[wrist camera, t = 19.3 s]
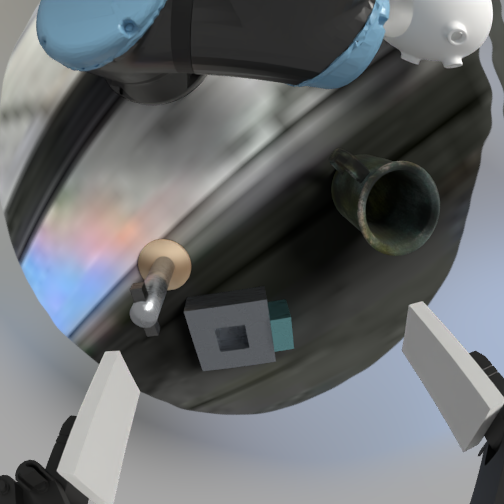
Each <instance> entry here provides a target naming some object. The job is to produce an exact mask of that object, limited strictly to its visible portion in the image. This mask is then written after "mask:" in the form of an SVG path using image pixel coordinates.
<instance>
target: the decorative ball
mask: <svg viewBox="0 0 504 504" xmlns="http://www.w3.org/2000/svg"><path fill="white" fill-rule="evenodd" d="M389 3H390V13H389V19H388V20H387V21H386V22H385V24H384V25H383V28H384V29H385V31H386V32H385V35H384V38H383V39H384V40H385V41H387V42H388V43H389V44H391V45H392V46H394V47H395V48H397V49H399V50H400V51H401V58H402V59H404V60H406V61H408V62H411V63H414V64H417V65H418V64H419V62H420V60H422V59H424V60H430V61H441V62H442V63H443V65H444V67H445V68H455V67H459V66H462V61H461V59H462V58H463V57H465V56H468V55H470V54H471V53H473V52H474V51H476V50H477V49H478V48H479V47H480V46H481V45H482V44H483V42H484V41H485V39H486V38H487V36H488V34H489V32H490V29H491V25H492V18H493V10H492V2H491V0H389Z"/></svg>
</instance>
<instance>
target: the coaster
mask: <svg viewBox="0 0 504 504" xmlns="http://www.w3.org/2000/svg"><path fill="white" fill-rule="evenodd" d="M161 256H165V257H168V258H170V259H171V260H172V261H173V262H174V265H175V269H174V272H173V275H172V278H171V281H170V284H169V286H168V289H167V290H173V289H176V288H179V287H180V286H182V285H183V284H184V283H185V282H186V281H187V279H188V278H189V275H190V272H191V260H190V257H189V255H188V253H187V251H186V250H185V249H184V248H183V247H182V246H181V245H180V244H178V243H176V242H174V241H172V240H168V239H158V240H154V241H152V242H150V243H148V244H147V245H146V246H145V247H144V248H143V250H142V251H141V253H140V255H139V259H138V267H139V271H140V273H141V275H142V277H143V278H144V280H145V279H146V277H147V275H148V273H149V271H150V269H151V267H152V265H153V263H154V262H155V260H156V259H157V258H158V257H161Z"/></svg>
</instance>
